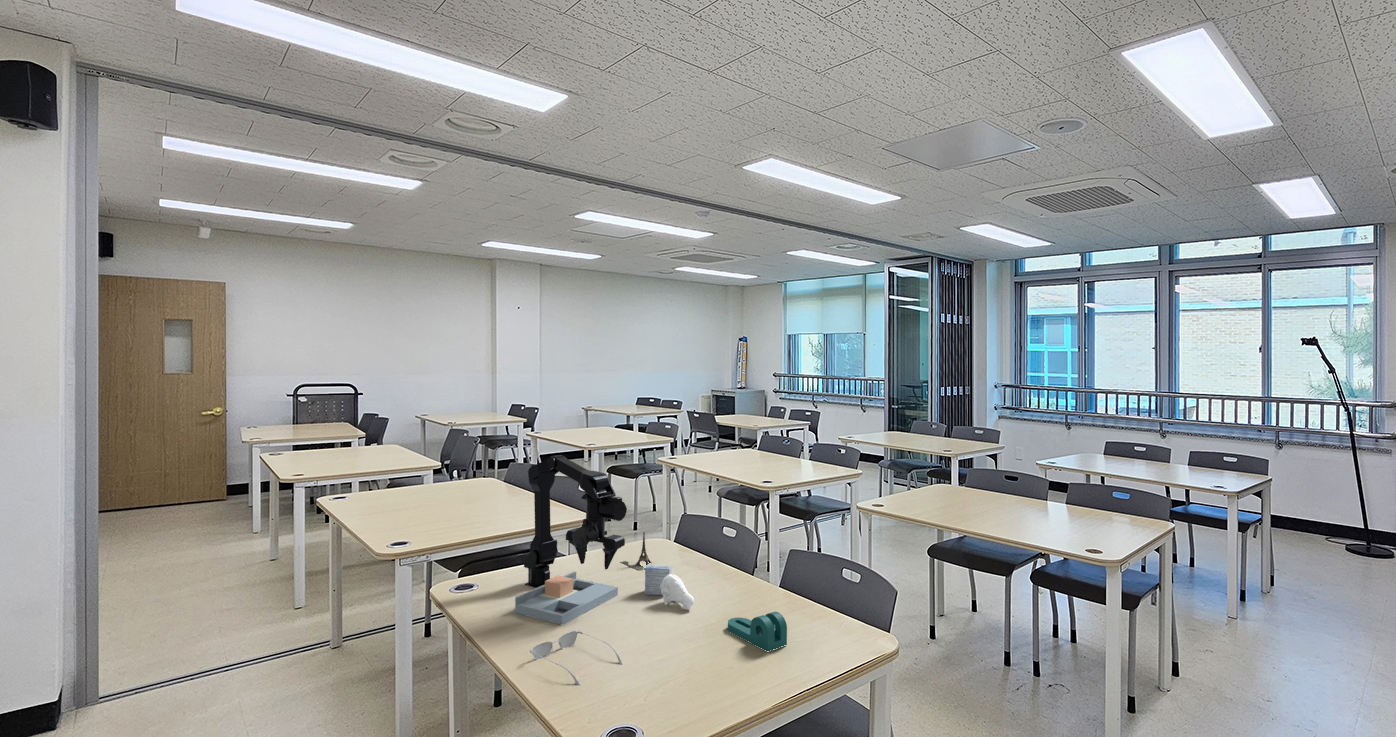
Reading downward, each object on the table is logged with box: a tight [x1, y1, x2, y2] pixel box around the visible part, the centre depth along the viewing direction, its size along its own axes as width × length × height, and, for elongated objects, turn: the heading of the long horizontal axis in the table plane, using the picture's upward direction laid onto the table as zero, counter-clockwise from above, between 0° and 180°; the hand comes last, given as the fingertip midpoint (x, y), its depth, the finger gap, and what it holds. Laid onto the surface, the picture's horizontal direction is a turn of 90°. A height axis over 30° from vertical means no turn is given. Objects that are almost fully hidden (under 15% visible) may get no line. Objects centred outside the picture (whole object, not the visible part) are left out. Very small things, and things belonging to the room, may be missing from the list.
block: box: [545, 575, 573, 598], centre depth 192 cm, size 6×6×4 cm
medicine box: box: [644, 563, 672, 596], centre depth 200 cm, size 8×4×9 cm, turn 84°
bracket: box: [727, 611, 788, 652], centre depth 168 cm, size 18×7×8 cm, turn 37°
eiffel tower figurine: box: [620, 531, 652, 572], centre depth 229 cm, size 15×10×13 cm
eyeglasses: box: [529, 630, 624, 686], centre depth 152 cm, size 15×18×4 cm
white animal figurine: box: [660, 573, 695, 611], centre depth 190 cm, size 6×8×12 cm
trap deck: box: [514, 571, 619, 626], centre depth 190 cm, size 18×26×4 cm, turn 152°
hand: (594, 566), depth 191 cm, fingers open, 9 cm apart
